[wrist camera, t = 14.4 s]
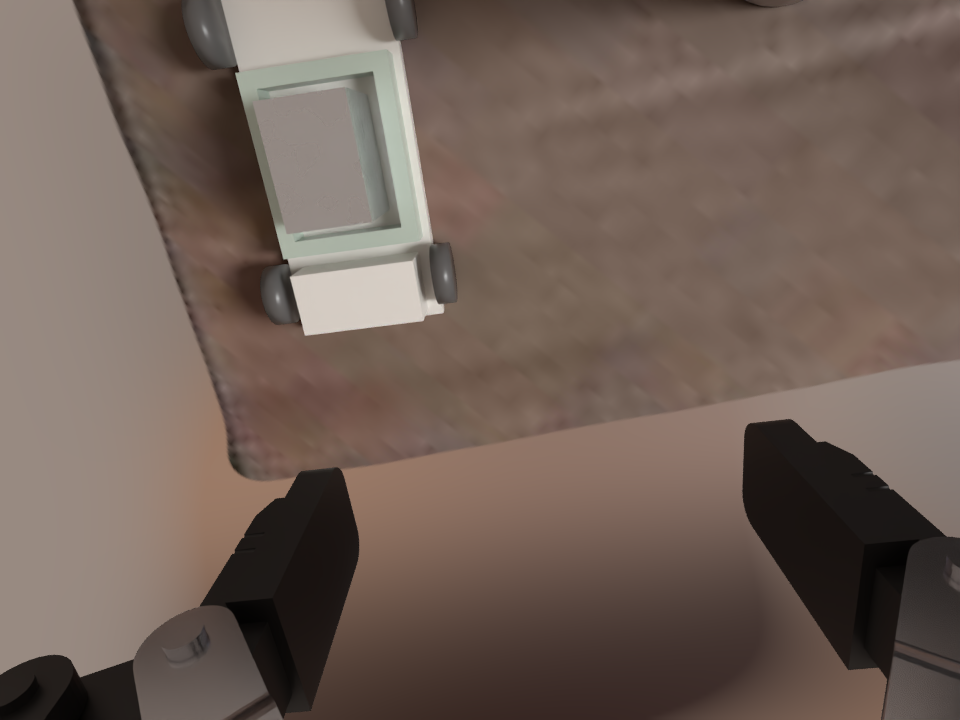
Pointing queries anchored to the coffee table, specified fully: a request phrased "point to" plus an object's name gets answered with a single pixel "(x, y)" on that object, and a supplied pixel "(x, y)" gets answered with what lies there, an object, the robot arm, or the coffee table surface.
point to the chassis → (381, 75)
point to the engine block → (323, 158)
